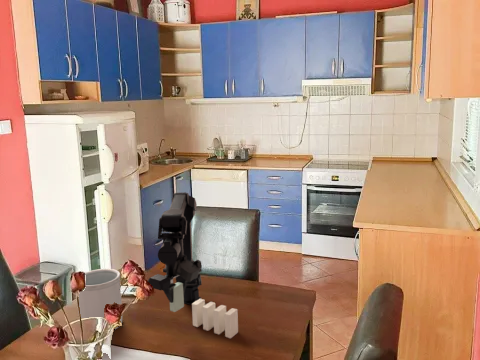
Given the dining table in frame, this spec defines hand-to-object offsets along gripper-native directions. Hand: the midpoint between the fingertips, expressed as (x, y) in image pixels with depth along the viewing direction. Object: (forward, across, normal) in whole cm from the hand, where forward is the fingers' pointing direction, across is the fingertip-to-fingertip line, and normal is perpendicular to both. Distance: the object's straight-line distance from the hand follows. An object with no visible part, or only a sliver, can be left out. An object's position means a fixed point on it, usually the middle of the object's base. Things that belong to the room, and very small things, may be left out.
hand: (176, 299), depth 138 cm
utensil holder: (+13, -8, +28) cm, 32 cm away
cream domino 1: (+13, +10, 0) cm, 16 cm away
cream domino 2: (+13, +10, -5) cm, 17 cm away
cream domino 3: (+13, +10, -9) cm, 19 cm away
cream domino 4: (+13, +10, -14) cm, 21 cm away
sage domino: (+3, 0, 0) cm, 3 cm away
